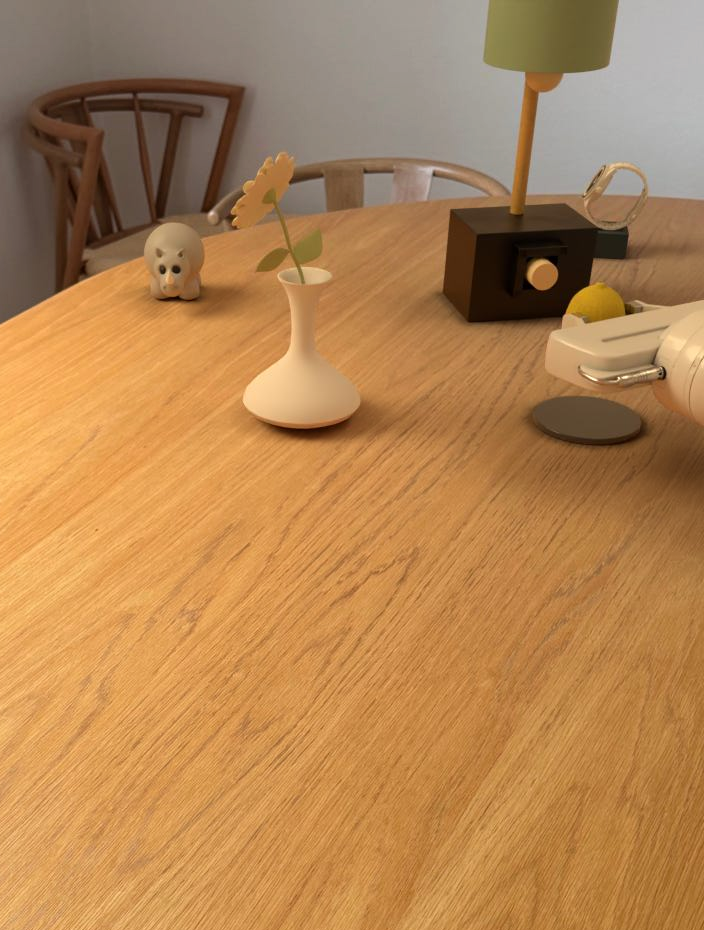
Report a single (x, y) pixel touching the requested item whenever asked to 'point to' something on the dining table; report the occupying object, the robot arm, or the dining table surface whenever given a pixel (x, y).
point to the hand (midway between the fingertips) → (598, 315)
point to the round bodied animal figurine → (174, 261)
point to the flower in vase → (294, 321)
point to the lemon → (597, 303)
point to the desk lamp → (528, 226)
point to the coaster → (586, 420)
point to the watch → (610, 233)
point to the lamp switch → (541, 273)
